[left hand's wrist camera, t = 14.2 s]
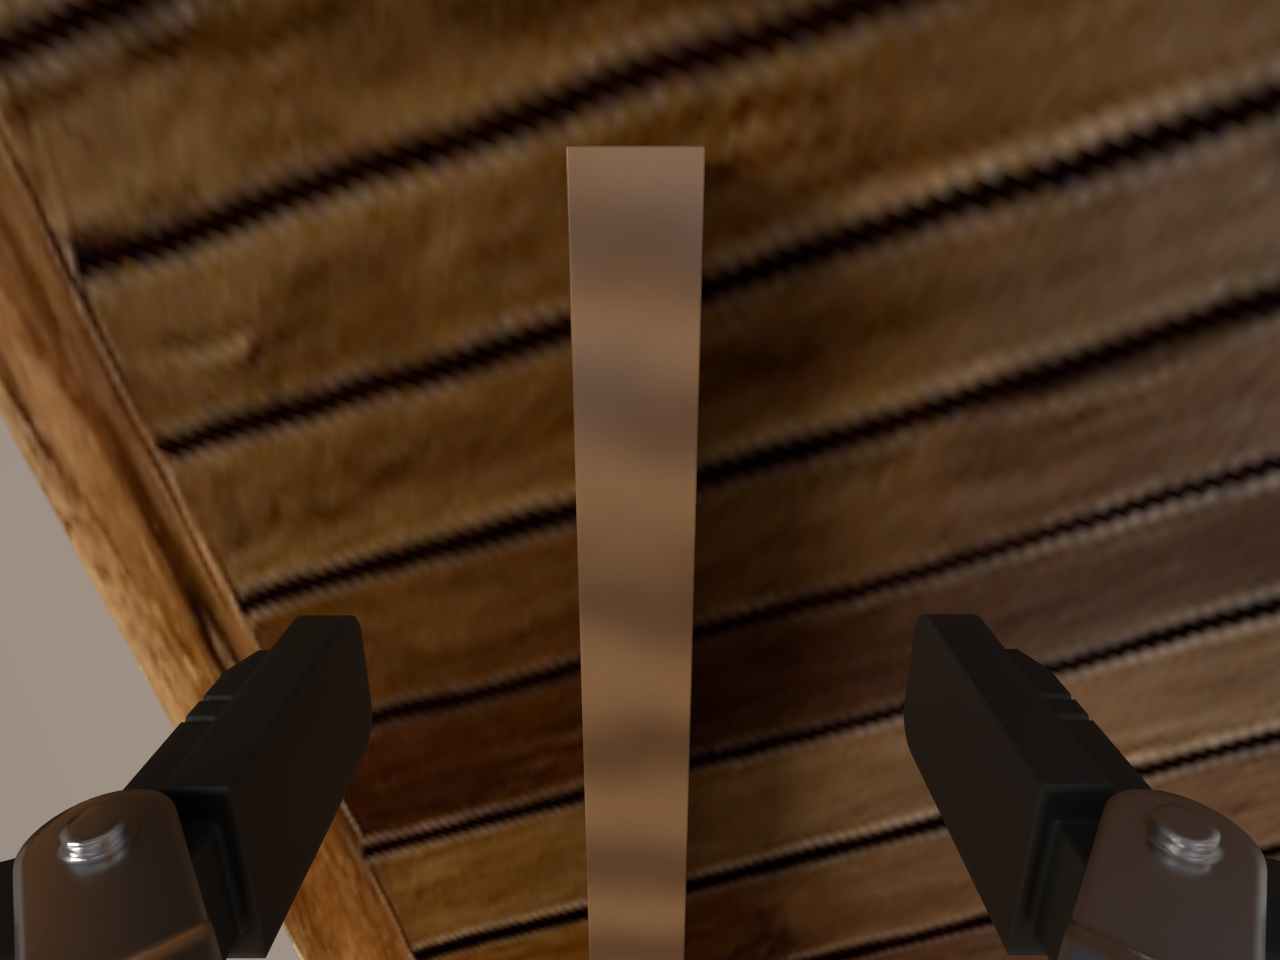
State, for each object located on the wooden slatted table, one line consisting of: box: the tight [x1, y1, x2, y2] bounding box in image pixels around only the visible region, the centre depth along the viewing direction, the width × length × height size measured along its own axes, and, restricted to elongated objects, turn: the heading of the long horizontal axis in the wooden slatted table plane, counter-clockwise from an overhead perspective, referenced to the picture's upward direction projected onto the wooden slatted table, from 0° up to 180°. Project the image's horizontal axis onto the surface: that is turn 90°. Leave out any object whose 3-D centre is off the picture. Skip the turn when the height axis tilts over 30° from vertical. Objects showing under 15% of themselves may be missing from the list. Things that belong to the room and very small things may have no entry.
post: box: [566, 146, 705, 960], centre depth 40 cm, size 59×4×8 cm, turn 0°
